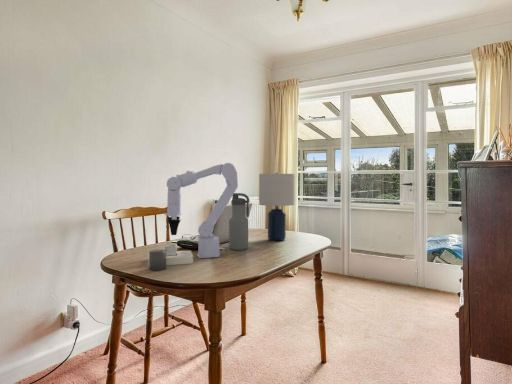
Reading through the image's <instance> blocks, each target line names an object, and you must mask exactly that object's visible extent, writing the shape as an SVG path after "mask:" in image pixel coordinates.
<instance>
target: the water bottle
mask: <svg viewBox="0 0 512 384" xmlns="http://www.w3.org/2000/svg"><path fill="white" fill-rule="evenodd" d="M239 196H240V197H239ZM243 197H244V198H243ZM249 203H250V198H249V196H248V195H247V194H246V193H242V192H240V193H239V192H234V194H233V196H232V197H231V208H232V209H231V211H232V213H231V217H230V218H229V219H228V247H229V249H230V250H231V251H232V250H233V251H245V250H247V249H249V219H248V218H249V215H250V213H249V212H250V211H249V210H250V207H249Z"/></svg>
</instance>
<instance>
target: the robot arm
mask: <svg viewBox="0 0 512 384" xmlns="http://www.w3.org/2000/svg"><path fill="white" fill-rule="evenodd" d="M175 175H176V176H171V177H169V178H168V179H167V180H166V187H167V203H166V204H167V209H166V210H167V212H165V213H164V216H167V223H168V225H169V229H170V235H171V236H177V233H178V229H179V225H180V223H181V217H180V216H181V215H182V214H181V213H182V212H181V198H182V197H181V188H185V187H188V186H191V185H193V184H196V183H197V182H198V180H199V179H202V178H207V177H209V176H212V175H217V176H218V175H220V176H221V175H222V176H223V178H224V179H225V184H226V187H225V189H224V190H223V192H222V194H221V195H220V197H219V198H218V200H217V201H216V203H215V205H214V207H213V208H212V210H211V212H210V213H209V214H208V216H207V217H206V219H205V220H204V221H202V223H201V224H199V227H198V234H199V235H198V236H197V237H198V238H197V239H198V241H197V242H198V253H196V256H197V258H198V259H207V258H209V259H210V258H220V237H219V235H217V236H216V235H215V234H214V233H213V232H214V230H215V225H216V223H217V221H218V220H219V219H220V216H221V215H222V214H223V212H224V210H225V208H226V206H228V203H230V200H232V197H233V194H234V193H236V190H238V187H239V186H238V185H239V184H238V181H239V180H238V172H237V169H236V167H235V165H234V164H233V163H231V162H226V163H223V164H222V163H220V164H217V165H213V166H210V167H207V168H205V169H202V170H199V171H197V172H194V171H193V170H192V171H190V170H186V172H185V173H181V174H175Z"/></svg>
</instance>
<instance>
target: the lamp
mask: <svg viewBox="0 0 512 384" xmlns="http://www.w3.org/2000/svg"><path fill="white" fill-rule="evenodd" d="M295 175H296V174H295V173H279V172H275V173H259V174H258V176H259V177H258V205H260V206H266V207H267V206H268V207H269V206H271V207H272V206H273V207H274V208H271V209H270V210H269V211H268V213H267V239H268V241H272V242H283V241H284V240H286V233H287V231H286V226H287V225H286V224H287V222H286V220H287V219H286V218H287V217H286V212H285V211H284V209H283V208H280V207H287V206H288V207H289V206H295V200H296V198H295V197H296V196H295V193H296V192H295V188H296V187H295V186H296V185H295V183H296V182H295V181H296V179H295V177H296V176H295Z"/></svg>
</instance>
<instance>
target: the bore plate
mask: <svg viewBox="0 0 512 384" xmlns="http://www.w3.org/2000/svg"><path fill="white" fill-rule="evenodd" d="M187 264H188V265H189V264H190V265H191V264H194V255H193V252H192V250H176V256H166V266H173V265H174V266H175V265H187ZM147 267H149V254H148V256H147Z"/></svg>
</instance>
